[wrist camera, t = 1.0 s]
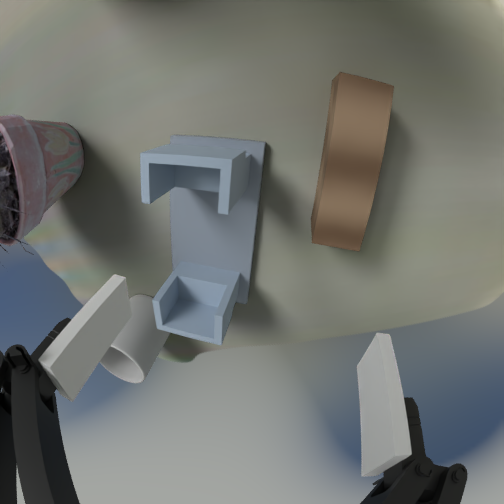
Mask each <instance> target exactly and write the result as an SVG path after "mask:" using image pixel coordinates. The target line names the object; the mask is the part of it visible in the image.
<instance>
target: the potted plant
mask: <svg viewBox="0 0 504 504" xmlns="http://www.w3.org/2000/svg"><path fill="white" fill-rule="evenodd" d="M83 166H84V151H83V146H82V142H81V140H80V137H79V135H78V132H77V131H76V130H75V129H73V128H72V127H71V126H69V125H68V124H67V123H61V122H49V121H37V120H25V119H24V118H23V117H22V116H18V115H6V116H0V243H2V244H5V245H8V246H11V245H14V244H17V243H18V242H21V241H20V240H21V239H22V238H23V237H24V236H26V235H27V234H28V233H29V232H30V231H31V230H32V229H33V228H35V227H36V226H37V225H38V224H39V223H40V221H41V219H42V216H43V214H44V213H45V212H46V211H47V210H48V209H49V208H50V207H51V206H52V205H53V204H54V203H55V202H56V201H57V200H58V199H59V198H60V197H61V196H62V195H63V194H64V193H65V192H67V191H68V190H69V189H70V188H71V187H72V186H73V185H74V184H75V183H76V181H77V180H78V179H79V177H80V176H81V173H82V169H83ZM0 246H1V245H0ZM2 248H3V247H2ZM3 249H4V248H3ZM4 250H5V249H4ZM5 251H6V250H5Z"/></svg>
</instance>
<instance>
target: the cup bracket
mask: <svg viewBox="0 0 504 504" xmlns="http://www.w3.org/2000/svg"><path fill="white" fill-rule="evenodd" d="M265 147H266V142H262V141H253V140H244V139H234V138H223V137H209V136H193V135H172V136H171V139H170V144H166V145H163V146H160V147H157V148H154V149H151V150H148V151H145V152H142V153H140V162H141V194H142V203H147V204H150V203H152V202H153V201H155V200H156V199H158V198H159V197H161V196H162V195H164V194H165V193H166V192H168V191H169V190H170V223H171V247H172V264H173V272H172V273H171V275H170V276H169V277H168V279H167V280H166V282H165V283H164V284H163V286H162V287H161V288H160V290H159V291H158V292H157V294H156V295H155V297H154V298H153V299H152V302H153V308H154V314H155V320H156V326H157V329H160V330H163V331H167V332H170V333H174V334H178V335H181V336H185V337H189V338H193V339H197V340H201V341H205V342H209V343H214V344H218V345H222V343H223V340H224V337H225V334H226V331H227V328H228V326H229V323H230V320H231V317H232V311H233V308H234V305H235V302H236V303H242V304H247V301H248V295H249V287H250V278H251V269H252V260H253V252H254V243H255V234H256V226H257V217H258V208H259V199H260V191H261V182H262V173H263V164H264V155H265Z"/></svg>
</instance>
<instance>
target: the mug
mask: <svg viewBox="0 0 504 504" xmlns="http://www.w3.org/2000/svg"><path fill="white" fill-rule="evenodd" d="M152 299H153V297H150V296H148V295H142V294H139V295H134V296H132V297H131V298H130V299H129V301H130V306H131V312H132V316H131V318H130V319H129V321H128V322H127V323H126V325H125V326H124V327H123V329H122V330H121V332H120V333H119V334H118V336H117V337H116V339H115V340H114V341H113V343H112V344H111V346H110V347H109V348H108V350H107V351H106V353H105V354H104V356H103V357H102V359H101V360H100V361H99V362H100V363H101V364H102V365H103V366H104V367H105V368H106V369H107V370H108V371H109V372H111V373H112V374H114V375H115V376H117V377H118V378H120V379H122V380H125V381H128V382H131V383H141V382H143V381H144V380H145V378H146V376H147V375H148V372H149V371H150V369H151V367H152V365H153V363H154V362H155V360H156V358H157V356H158V354H159V352H160V351H161V349H162V347H163V345H164V343H165V342H166V340H167V338H168V337H169V335H170V332H167V331H163V330H160V329H157V326H156V320H155V314H154V308H153V302H152Z"/></svg>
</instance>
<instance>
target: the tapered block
mask: <svg viewBox="0 0 504 504" xmlns="http://www.w3.org/2000/svg"><path fill="white" fill-rule="evenodd" d="M393 90H394V86H392V85H389V84H386V83H382V82H379V81H375V80H371V79H367V78H363V77H359V76H355V75H351V74H346V73H342V72H339V74H338V75H337V76H336V77H335V78H334V79H333V80H332V88H331V96H330V104H329V112H328V119H327V126H326V133H325V140H324V146H323V153H322V159H321V165H320V171H319V177H318V183H317V189H316V195H315V200H314V206H313V211H312V216H311V232H312V243H315V244H321V245H326V246H332V247H338V248H343V249H349V250H354V251H360V247H361V244H362V240H363V237H364V233H365V230H366V226H367V223H368V219H369V215H370V211H371V207H372V203H373V199H374V195H375V191H376V187H377V182H378V178H379V173H380V169H381V164H382V159H383V154H384V149H385V143H386V137H387V132H388V126H389V119H390V113H391V105H392V98H393Z"/></svg>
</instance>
